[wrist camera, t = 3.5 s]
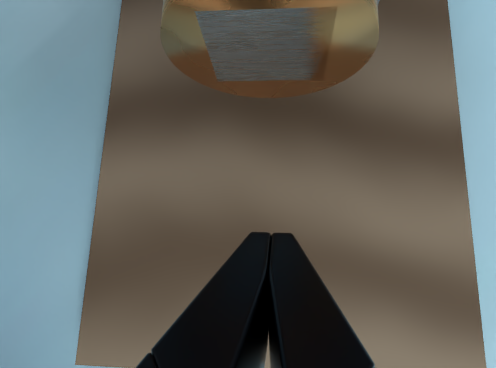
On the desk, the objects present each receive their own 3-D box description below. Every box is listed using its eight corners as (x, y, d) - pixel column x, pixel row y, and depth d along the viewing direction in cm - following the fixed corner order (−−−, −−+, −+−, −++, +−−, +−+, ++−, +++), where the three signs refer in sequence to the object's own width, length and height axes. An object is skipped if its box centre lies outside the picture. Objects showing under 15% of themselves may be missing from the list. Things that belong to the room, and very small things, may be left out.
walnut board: (474, 381, 15) (488, 388, 14) (87, 359, 16) (75, 364, 15) (431, -62, 19) (438, -79, 18) (137, -47, 21) (130, -63, 20)
